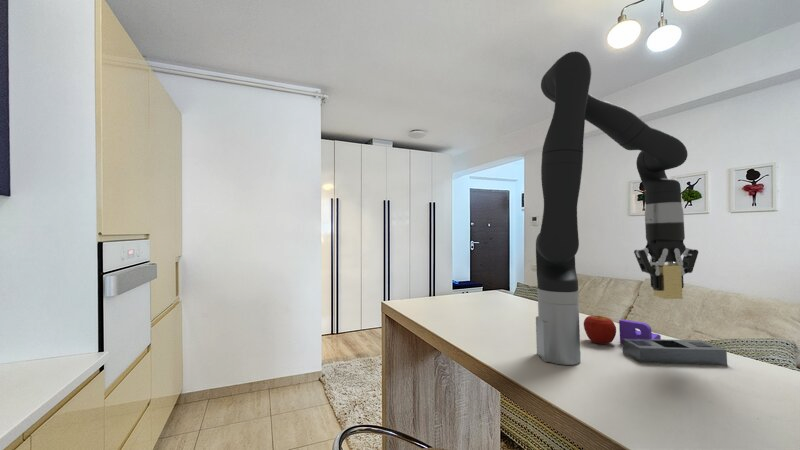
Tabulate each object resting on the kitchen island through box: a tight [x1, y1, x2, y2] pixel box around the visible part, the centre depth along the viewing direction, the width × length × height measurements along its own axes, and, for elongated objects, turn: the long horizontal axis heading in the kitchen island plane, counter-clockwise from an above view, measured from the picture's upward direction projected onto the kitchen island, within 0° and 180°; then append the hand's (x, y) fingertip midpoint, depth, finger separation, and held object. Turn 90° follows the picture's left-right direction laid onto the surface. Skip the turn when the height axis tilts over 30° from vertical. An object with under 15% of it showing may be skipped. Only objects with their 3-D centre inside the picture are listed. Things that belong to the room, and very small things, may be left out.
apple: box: [583, 315, 617, 345], centre depth 91 cm, size 8×8×8 cm
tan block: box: [652, 263, 684, 300], centre depth 79 cm, size 4×4×8 cm
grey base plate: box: [622, 338, 728, 366], centre depth 79 cm, size 19×7×4 cm, turn 84°
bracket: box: [618, 318, 661, 345], centre depth 91 cm, size 12×7×7 cm, turn 130°
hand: (667, 289), depth 79 cm, fingers closed on tan block, 4 cm apart
